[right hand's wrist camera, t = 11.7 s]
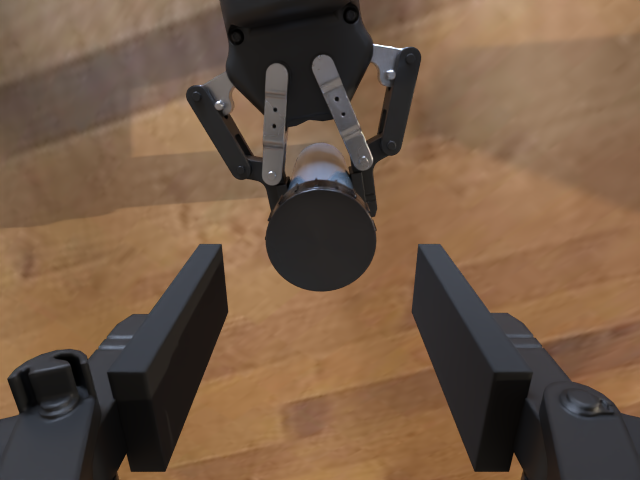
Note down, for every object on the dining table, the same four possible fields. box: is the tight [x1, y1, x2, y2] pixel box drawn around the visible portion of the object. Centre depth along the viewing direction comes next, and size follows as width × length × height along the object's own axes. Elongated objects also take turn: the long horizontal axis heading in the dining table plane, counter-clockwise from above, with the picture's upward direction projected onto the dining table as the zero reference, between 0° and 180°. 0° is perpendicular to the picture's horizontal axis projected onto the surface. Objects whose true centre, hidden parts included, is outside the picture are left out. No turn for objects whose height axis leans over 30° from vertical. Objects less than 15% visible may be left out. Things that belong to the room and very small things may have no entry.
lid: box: [265, 178, 377, 291], centre depth 18 cm, size 5×5×2 cm
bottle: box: [288, 143, 353, 191], centre depth 25 cm, size 4×4×15 cm
